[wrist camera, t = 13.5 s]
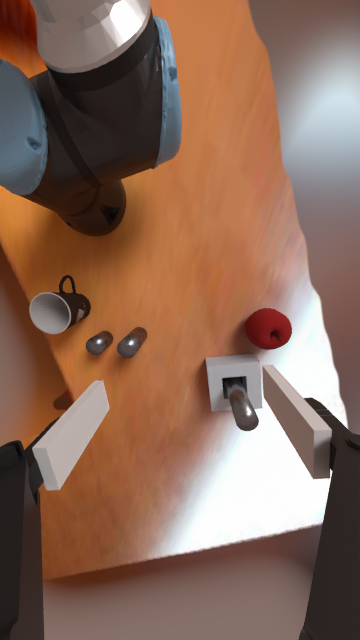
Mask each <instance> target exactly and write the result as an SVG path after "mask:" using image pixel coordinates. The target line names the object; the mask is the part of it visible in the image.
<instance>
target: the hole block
mask: <svg viewBox="0 0 360 640" xmlns="http://www.w3.org/2000/svg"><path fill="white" fill-rule="evenodd" d="M205 359H206V368H207V377H208V387H209V396H210V403H211V410H212V412H216V411H230V410H232V408H231V405H230V401H229V398H228V395H227V391H226V388H225V387H223V384H222V378H228V377H239V376H242V385H243V387H244V389H245V391H246V394H247V396H248V398H249V400H250V402H251V404H252V406H253V408H254V409H257V408H262V396H261V373H260V361H259V360H258V359H257V357H256V356H255V355H254V354H253V353H251V354H241V355H230V356H220V357H210V358H205Z"/></svg>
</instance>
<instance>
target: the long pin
mask: <svg viewBox="0 0 360 640" xmlns="http://www.w3.org/2000/svg"><path fill="white" fill-rule="evenodd" d="M223 382H224V385H225V388H226V391H227V395H228V398H229V401H230V405H231V408H232V411H233V414H234V418H235V421H236V424H237V426H238V427H239V428H240V429H241V430H244V431H250V430H253V429H255V428H256V427H257V425H258V423H259V419H258V417H257V415H256V413H255V411H254V408H253V406H252V404H251V402H250V400H249V398H248V396H247V394H246V391H245V389H244V387H243V385H242V383H241V381H240V379H239V377H228V378H223Z"/></svg>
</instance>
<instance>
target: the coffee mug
mask: <svg viewBox="0 0 360 640" xmlns="http://www.w3.org/2000/svg"><path fill="white" fill-rule="evenodd" d="M67 278H69V279H70V280H71V283H72V289H73V293H65V292H64V291H63V283H64V281H65V280H66V279H67ZM59 291H60V293H56V292H43V293H40V294H38V295H36V296H35V297H34V298H33V299H32V301H31V303H30V308H29V312H30V317H31V319H32V321H33V323H34V324H35V326H37V327H38V328H39V329H40V330H41V331H43V332H45V333H48V334H58V333H61V332H63V331H65V330H66V329H68V328H69V327H71V326H72V325H74V324H75V323H77V322H79V321H80V320H82V319H83V318H85V317H86V316H87V315H88V314H89V313H90V309H91V306H90V302H89V300H88V299H87V298H86V297H85V296H84V295H82V294H77V293H76V290H75V284H74V280H73V278H72V277H71V276H69V275H66V276H64V277H63V278H62V280H61V282H60V284H59Z"/></svg>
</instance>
